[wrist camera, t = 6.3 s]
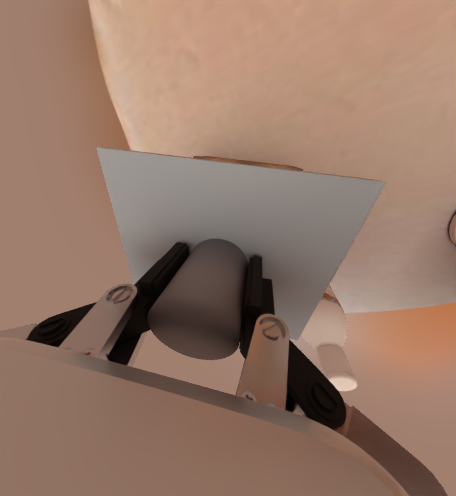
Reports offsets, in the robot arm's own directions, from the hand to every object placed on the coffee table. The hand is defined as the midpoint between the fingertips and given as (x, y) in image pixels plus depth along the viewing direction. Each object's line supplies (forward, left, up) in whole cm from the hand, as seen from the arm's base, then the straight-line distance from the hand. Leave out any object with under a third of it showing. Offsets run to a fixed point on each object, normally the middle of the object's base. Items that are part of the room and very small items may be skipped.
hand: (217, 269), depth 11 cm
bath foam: (-14, +13, -21) cm, 29 cm away
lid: (0, 0, -1) cm, 1 cm away
